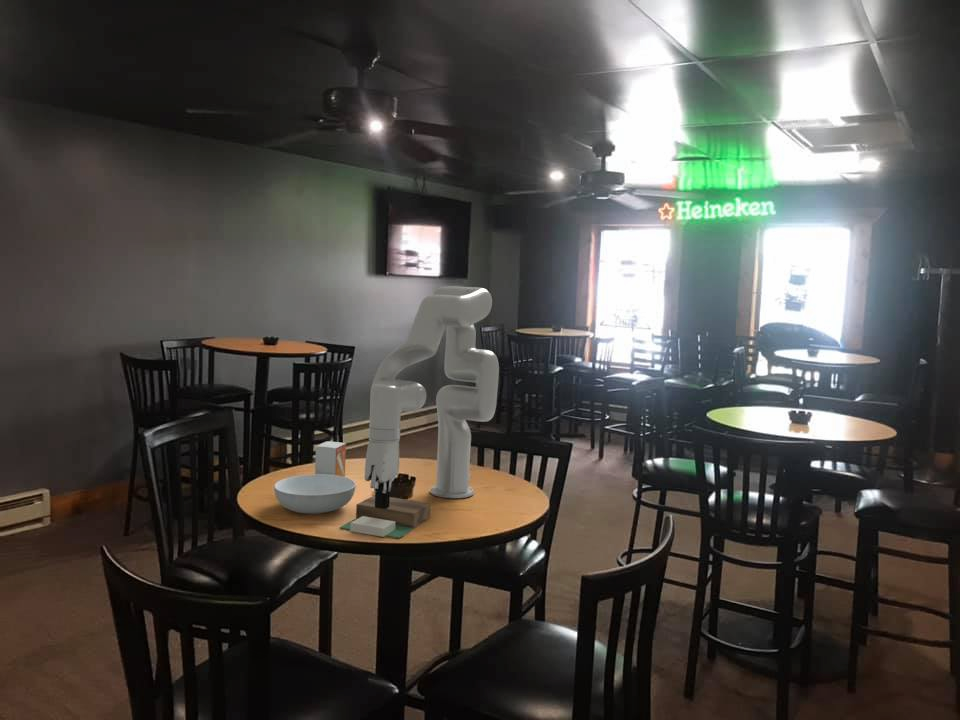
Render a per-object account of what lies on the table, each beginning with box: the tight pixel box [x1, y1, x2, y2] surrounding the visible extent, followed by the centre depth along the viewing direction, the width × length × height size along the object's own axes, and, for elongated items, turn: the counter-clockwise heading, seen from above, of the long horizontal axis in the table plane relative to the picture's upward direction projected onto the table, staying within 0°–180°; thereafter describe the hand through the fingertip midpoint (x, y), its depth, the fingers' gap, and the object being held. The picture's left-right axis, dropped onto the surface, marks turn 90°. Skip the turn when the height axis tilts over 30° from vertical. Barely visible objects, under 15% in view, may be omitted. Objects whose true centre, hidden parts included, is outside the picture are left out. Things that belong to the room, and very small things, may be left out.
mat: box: [339, 518, 414, 539], centre depth 181 cm, size 8×16×1 cm, turn 70°
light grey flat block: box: [350, 516, 395, 538], centre depth 179 cm, size 6×9×2 cm, turn 70°
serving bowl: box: [273, 473, 357, 515], centre depth 195 cm, size 21×21×7 cm
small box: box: [314, 440, 347, 477], centre depth 215 cm, size 8×6×13 cm
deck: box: [355, 494, 431, 530], centre depth 190 cm, size 10×16×4 cm, turn 70°
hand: (382, 507), depth 183 cm, fingers closed
